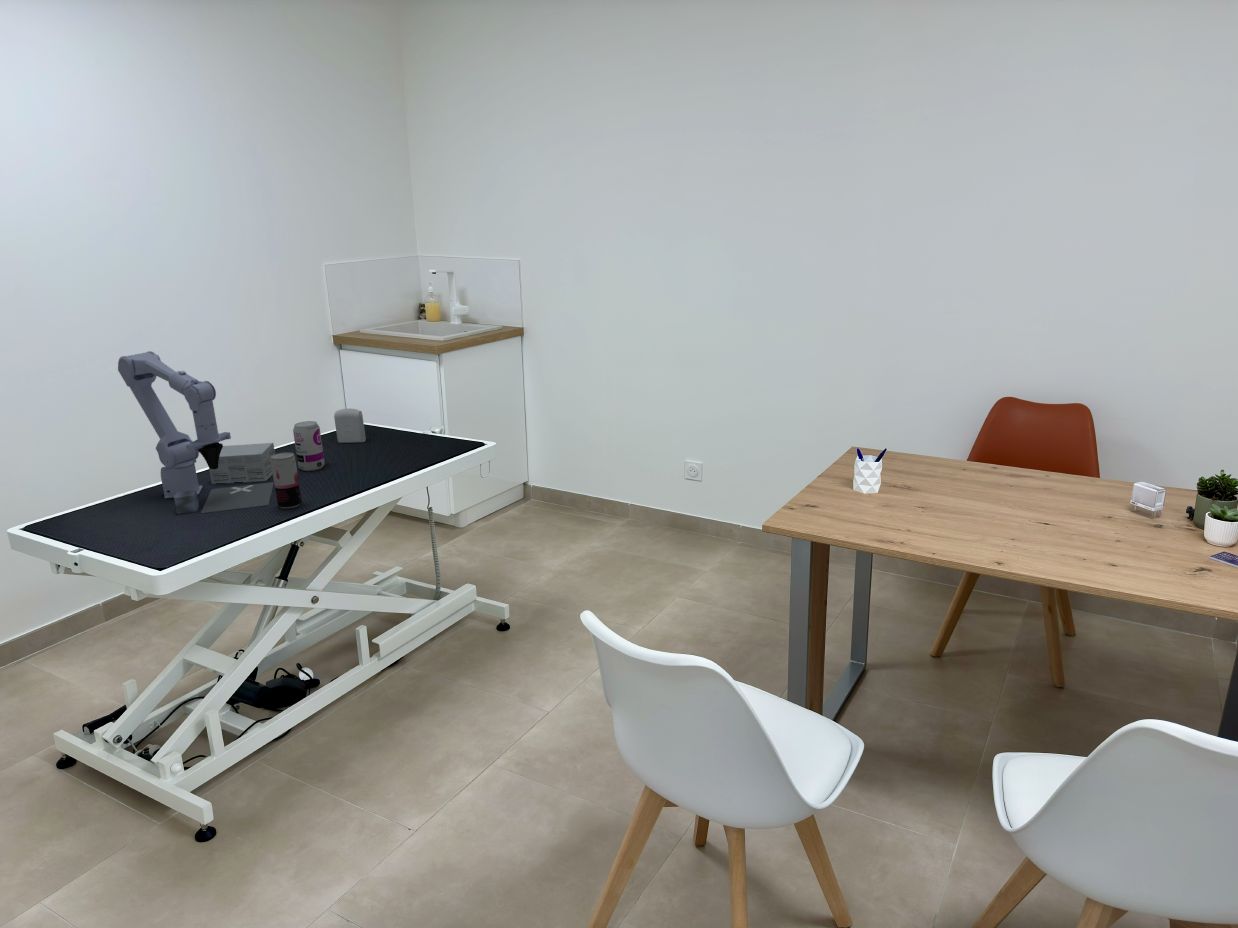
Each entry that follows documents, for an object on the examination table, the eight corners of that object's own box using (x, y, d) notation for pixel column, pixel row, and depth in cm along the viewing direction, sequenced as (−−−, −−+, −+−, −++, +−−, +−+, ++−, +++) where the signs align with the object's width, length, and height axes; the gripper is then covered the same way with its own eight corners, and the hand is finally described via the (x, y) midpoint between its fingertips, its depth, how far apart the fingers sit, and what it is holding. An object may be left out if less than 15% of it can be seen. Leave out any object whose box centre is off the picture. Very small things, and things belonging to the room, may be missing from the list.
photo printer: (335, 443, 306) (331, 410, 302) (340, 440, 310) (336, 407, 306) (363, 443, 305) (359, 410, 301) (367, 440, 309) (363, 407, 305)
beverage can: (306, 503, 245) (299, 454, 241) (288, 510, 240) (280, 460, 235) (291, 499, 249) (284, 451, 244) (273, 506, 243) (265, 457, 239)
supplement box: (278, 469, 279) (274, 442, 276) (266, 481, 266) (262, 453, 263) (225, 472, 277) (220, 444, 274) (211, 484, 265) (206, 456, 262)
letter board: (200, 513, 239) (200, 512, 239) (211, 489, 259) (211, 488, 259) (268, 505, 244) (268, 504, 244) (273, 482, 264) (273, 481, 264)
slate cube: (177, 514, 240) (174, 497, 238) (180, 508, 244) (177, 492, 243) (196, 511, 241) (193, 495, 240) (199, 506, 246) (196, 490, 244)
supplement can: (329, 464, 282) (323, 420, 277) (318, 471, 274) (312, 427, 270) (305, 463, 283) (299, 420, 278) (294, 471, 275) (287, 427, 270)
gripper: (196, 431, 237) (204, 477, 241) (235, 418, 250) (242, 462, 254) (177, 429, 239) (186, 475, 243) (217, 417, 252) (224, 460, 256)
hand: (213, 468), depth 249 cm, fingers closed
